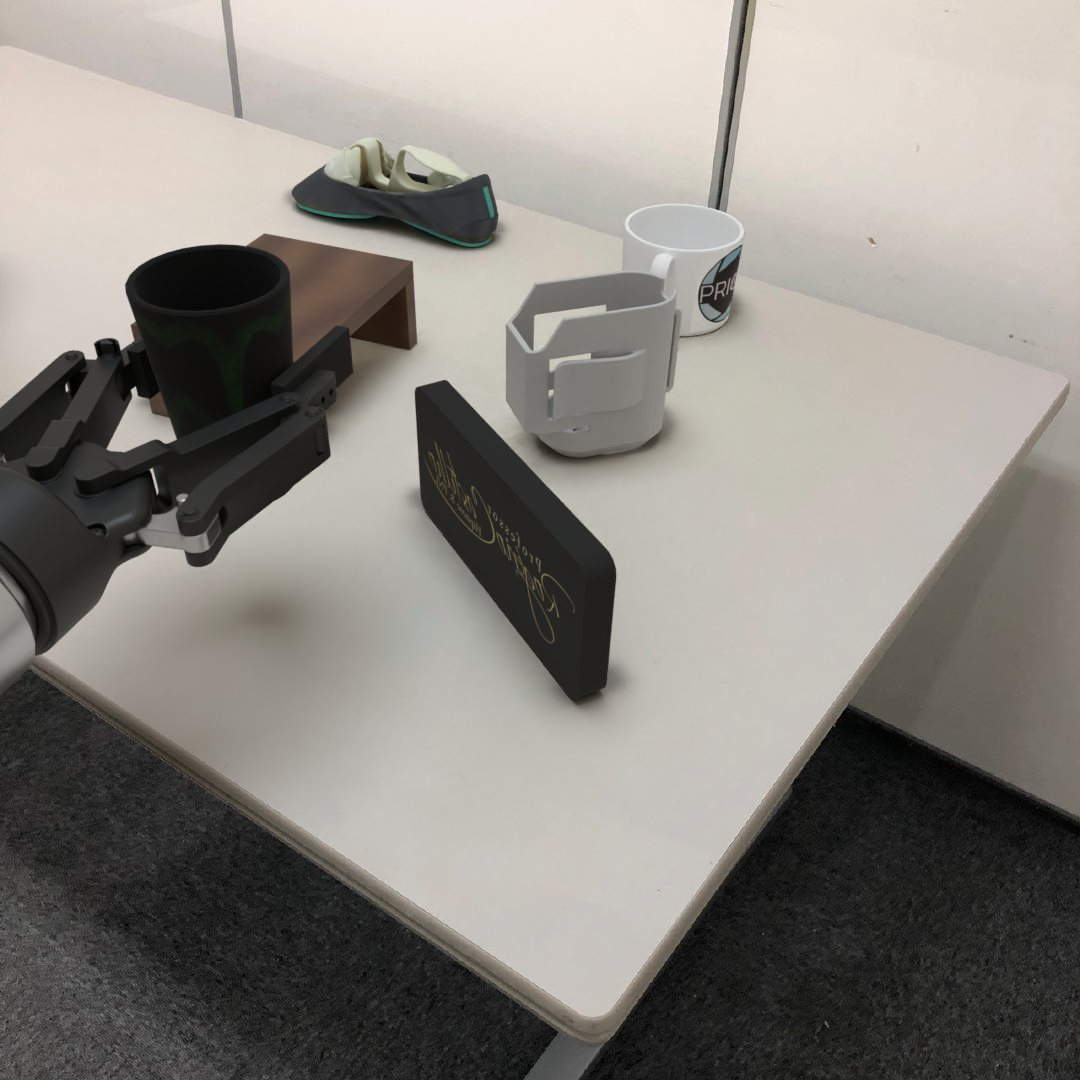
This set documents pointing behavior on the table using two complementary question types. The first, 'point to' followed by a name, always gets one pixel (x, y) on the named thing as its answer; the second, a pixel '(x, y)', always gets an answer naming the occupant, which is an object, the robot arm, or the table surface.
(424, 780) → the table surface
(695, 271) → the mug
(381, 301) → the shelf
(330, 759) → the table surface
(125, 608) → the table surface
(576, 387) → the cable organizer
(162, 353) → the cup
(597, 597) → the nameplate
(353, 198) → the ballet flat
